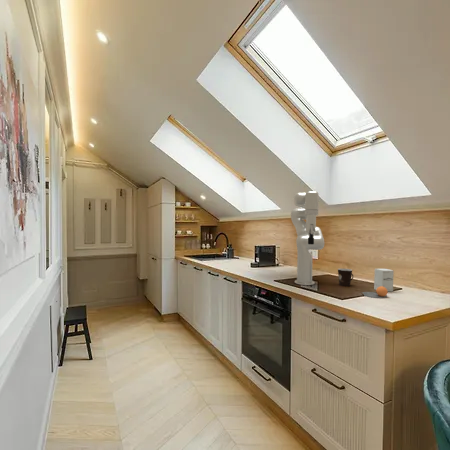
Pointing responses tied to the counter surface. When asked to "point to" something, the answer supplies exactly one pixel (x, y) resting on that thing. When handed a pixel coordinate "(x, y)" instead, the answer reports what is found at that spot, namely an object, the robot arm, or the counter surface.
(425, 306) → the counter surface
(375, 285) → the supplement box
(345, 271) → the coffee mug
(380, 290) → the ball
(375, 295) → the disc
